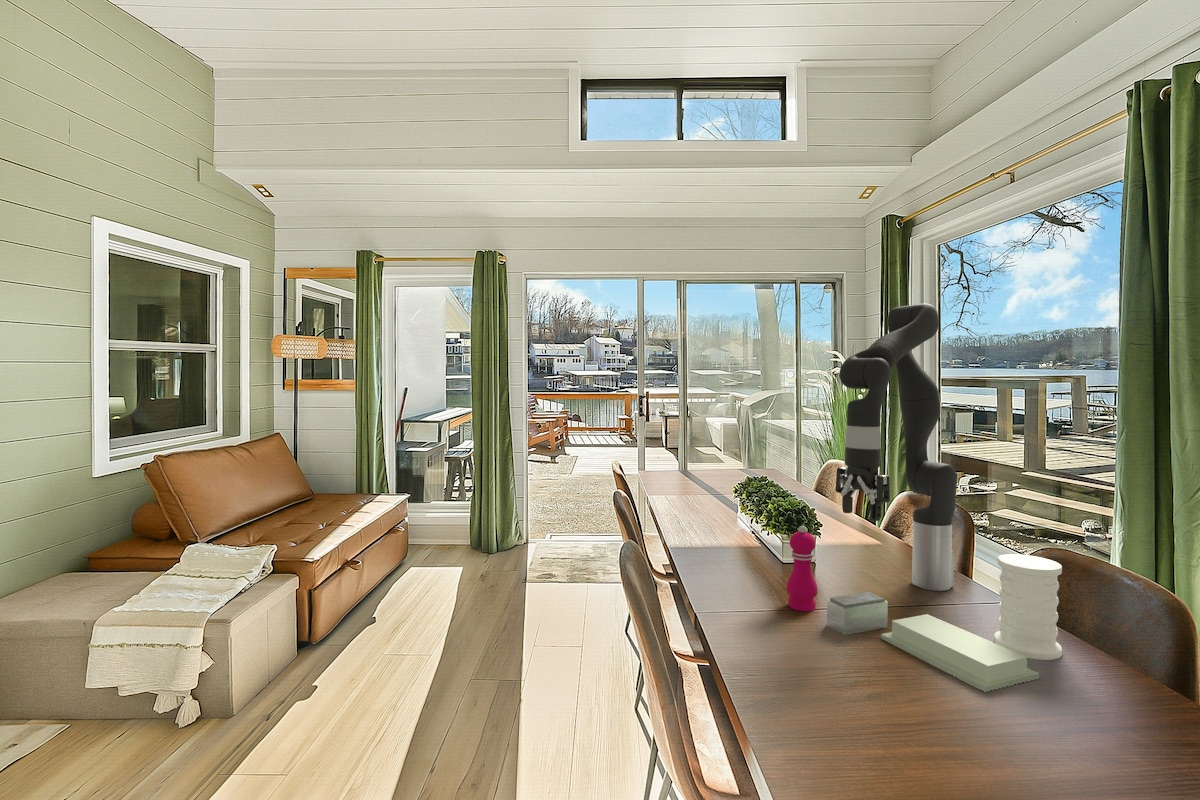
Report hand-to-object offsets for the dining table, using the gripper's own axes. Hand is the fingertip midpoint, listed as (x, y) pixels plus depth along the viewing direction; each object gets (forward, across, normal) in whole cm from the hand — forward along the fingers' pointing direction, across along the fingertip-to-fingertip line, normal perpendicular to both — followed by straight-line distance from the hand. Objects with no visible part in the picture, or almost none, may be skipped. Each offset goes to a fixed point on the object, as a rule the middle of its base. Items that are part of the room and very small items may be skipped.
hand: (860, 516), depth 141 cm
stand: (+24, -21, -5) cm, 32 cm away
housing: (+24, -2, +2) cm, 25 cm away
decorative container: (+24, -23, -23) cm, 40 cm away
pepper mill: (+25, +12, +6) cm, 28 cm away
